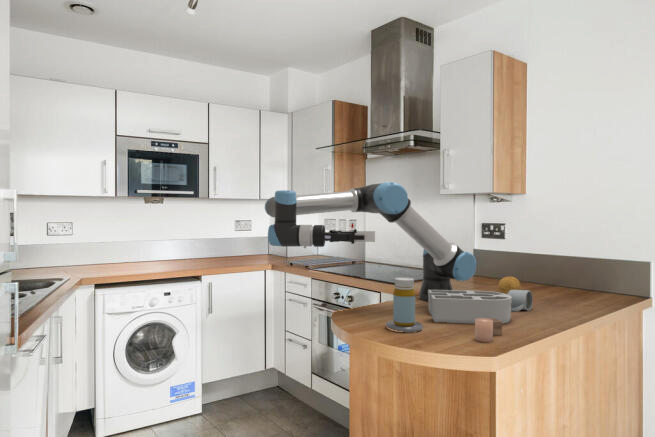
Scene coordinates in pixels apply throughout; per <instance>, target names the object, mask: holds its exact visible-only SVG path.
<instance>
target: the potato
mask: <svg viewBox="0 0 655 437" xmlns="http://www.w3.org/2000/svg"><path fill="white" fill-rule="evenodd" d="M497 287H498V291H499V293H504V294H507V293H508V291H509V290H522V285H521V282H520V280H519V279H518V278H517V277H514V276H505V277H503V278H501V279H500V280H499V282H498V284H497Z"/></svg>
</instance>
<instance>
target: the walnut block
mask: <svg viewBox="0 0 655 437" xmlns="http://www.w3.org/2000/svg"><path fill="white" fill-rule="evenodd" d="M488 319H492V320H493V337H494V336H502V335H503V328H502V327H503V324H502V321H500V320H498V319H496V318H488Z"/></svg>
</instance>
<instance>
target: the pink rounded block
mask: <svg viewBox="0 0 655 437" xmlns="http://www.w3.org/2000/svg"><path fill="white" fill-rule="evenodd" d="M493 337H494V336H493V320H492V319H488V318H476V319H475V324H474V340H475V341H477V342H481V343H492V342H493V341H494V338H493Z"/></svg>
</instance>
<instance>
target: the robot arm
mask: <svg viewBox="0 0 655 437" xmlns="http://www.w3.org/2000/svg"><path fill="white" fill-rule="evenodd" d="M264 210H265V213H266V214H267V215H268V216H270V217H271V218H274V224H271V225H269V226H268V229H267V241H268V243H269V245H270V246H273V247H286V248H287V247H303V248H304V249H307V247H312V246H313V247H315V248H319V247H320V248H323V247H325V244H326V242H329V243H338V242H347V243H351V245H353V244H355V242H359V243H360V242H363V243H364V242H365V243H368V242H371V243H375V242H376V231H374V230H373V231H369V230H357V229H355V228H354V229H353V230H352V231H351V230H348V231H345V230H344V231H343V230H336V229H329V231H328V232H326V226H325V225H324V224H314V225H312V224H297V216H301V215H311V214H313V215H314V214H323V213H336V212H346V211H351V213H369V214H370V213H371V214H379V215H381V216H382V217H383V218H384V219H385V220H387V222H388V223H390V224H392V223H395V224H396V225H397V226H399V228H401V229H402V230H403V231H404V232H405V233H406V234H407V235H408V236H409V237H411V239H412V240H414V241H415V242H416V244H418V245H419V246H420V247H421V248H422V249H423V253H422V283H421V286H420V288H419V292H418V298H419V297H420V298H421V299H422V301H425V302H428V296H429V295H428V290H454V289H453V285H452V283H451V279H453V280H456V281H458V282H460V281H461V282H466V281H468V280H470V279H471V278H472V277H474V275H475V273H476V271H477V260H476V257H475V255H474V254H472V253H470V252H468V251H464V250H463V249H461V247H459V246H458V245H457V243H455V242H449V241H448V240H447V239H445V237H443V236H442V235H441V234H440V233H439V231H437V230H436V229H435V228H434V227H433V226H432V225H431V224H430V223H429V222H428V221H427V220H425V218H423V217H422V216H421V215H420V213H419V212H417V210H415V209H414V208H413V206H412V202H411V199H410V198H409V197H408V192H407V190H406V189H405V187H404V186H403V185H401V184H399V183H397V182H392V181H385V182H380V183H373V184H369V185H365V186H361V187H355V188H349V190H348V191H338V192H337V191H335V192H323V193H311V194H302V195H301V194H299V195H297V192H296V191H294V190H286V189H284V190H282V189H281V190H276V191H275V193H274V196H272V197H270V198H268V199H267V200H266V202H265V203H264ZM421 299H420V300H421Z"/></svg>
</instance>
